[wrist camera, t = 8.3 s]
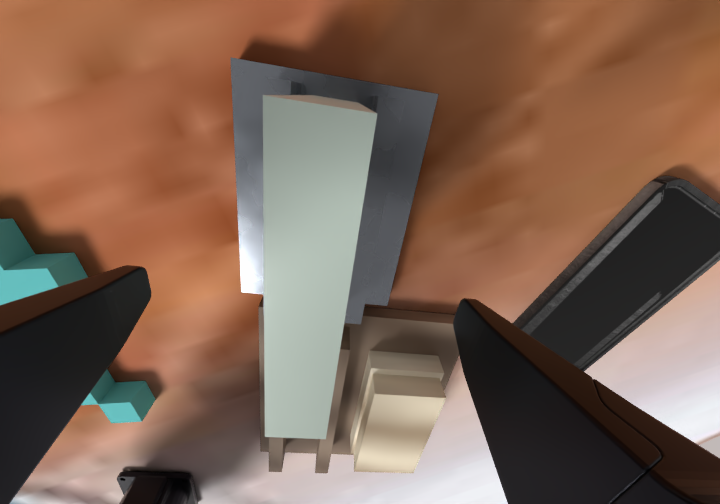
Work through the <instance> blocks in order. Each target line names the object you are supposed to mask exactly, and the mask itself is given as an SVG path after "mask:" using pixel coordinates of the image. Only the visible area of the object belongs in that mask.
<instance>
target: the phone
mask: <svg viewBox="0 0 720 504" xmlns="http://www.w3.org/2000/svg"><path fill="white" fill-rule="evenodd" d="M719 260H720V204H718V203H717V202H715V201H714V200H713V199H711V198H710V197H709V196H707V195H706V194H705V193H703V192H702V191H701V190H699V189H698V188H697V187H695V186H694V185H692V184H691V183H690V182H688V181H686V180H683V179H680V178H676V177H672V176H662V177H659V178H656V179H654V180H652V181H651V182H649V183H648V184H647V185H646V186H645V187H644V188H643V189H642V190H641V191H640V192H639V193H638V194H637V195H636V196H635V197H634V198H633V199H632V200H631V201H630V202H629V203H628V204H627V205H626V206H625V207H624V208H623V209H622V210H621V211H620V212H619V214H618V215H617V216H616V217H615V218H614V219H613V220H612V221H611V222H610V223H609V224H608V225H607V226H606V227H605V228H604V229H603V230H602V231H601V232H600V233H599V234H598V235H597V236H596V237H595V238H594V240H593V241H592V242H591V243H590V244H589V245H588V246H587V247H586V248H585V249H584V250H583V251H582V252H581V253H580V254H579V255H578V256H577V257H576V258H575V259H574V260H573V261H572V262H571V263H570V264H569V265H568V267H567V268H566V269H565V270H564V271H563V272H562V273H561V274H560V275H559V276H558V277H557V278H556V279H555V280H554V281H553V282H552V283H551V284H550V285H549V286H548V287H547V288H546V289H545V290H544V291H543V293H542V294H541V295H540V296H539V297H538V298H537V299H536V300H535V301H534V302H533V303H532V304H531V305H530V306H529V307H528V308H527V309H526V310H525V311H524V312H523V313H522V314H521V315H520V316H519V317H518V318H517V320H516V321H515V322H514V323H513V325H515V326H516V327H518V328H519V329H521V330H522V331H524V332H525V333H527V334H528V335H530V336H531V337H533V338H534V339H536V340H537V341H539V342H540V343H542V344H543V345H545V346H546V347H548V348H549V349H551V350H552V351H554V352H555V353H557V354H558V355H560V356H561V357H562V358H564V359H565V360H567V361H568V362H570V363H571V364H573V365H574V366H576V367H577V368H579V369H580V370H582V371H583V372H584V371H585V370H586V369H587V368H589V367H590V366H591V365H592V364H594V363H595V362H596V361H597V360H598V359H600V358H601V357H602V356H603V355H605V354H606V353H607V352H608V351H609V350H611V349H612V348H613V347H614V346H616V345H617V344H618V343H619V342H620V341H622V340H623V339H624V338H625V337H626V336H628V335H629V334H630V333H631V332H633V331H634V330H635V329H636V328H638V327H639V326H640V325H641V324H642V323H644V322H645V321H646V320H647V319H649V318H650V317H651V316H652V315H653V314H655V313H656V312H657V311H658V310H660V309H661V308H662V307H663V306H664V305H666V304H667V303H668V302H669V301H671V300H672V299H673V298H674V297H675V296H677V295H678V294H679V293H680V292H682V291H683V290H684V289H685V288H686V287H688V286H689V285H690V284H691V283H693V282H694V281H695V280H696V279H697V278H699V277H700V276H701V275H702V274H704V273H705V272H706V271H707V270H708V269H710V268H711V267H712V266H713V265H715V264H716V263H717V262H718V261H719Z"/></svg>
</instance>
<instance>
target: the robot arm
mask: <svg viewBox="0 0 720 504" xmlns="http://www.w3.org/2000/svg"><path fill="white" fill-rule="evenodd" d="M150 298H151V288H150V284H149V279H148V275H147V271H146V269H145V268H143V267H140V266H130V265H127V266H122V267H119V268H116V269H113V270H110V271H107V272H104V273H100V274H97V275H94V276H91V277H88V278H85V279H81V280H78V281H75V282H72V283H69V284H66V285H63V286H59V287H56V288H53V289H50V290H47V291H44V292H40V293H37V294H34V295H31V296H28V297H25V298H22V299H18V300H15V301H12V302H9V303H6V304H3V305H0V504H10V502H11V501H12V499H13V498H14V497H15V495H16V494H17V493H18V491H19V490H20V488H21V487H22V486H23V484H24V483H25V482H26V480H27V479H28V477H29V476H30V475H31V473H32V472H33V471H34V469H35V468H36V466H37V465H38V464H39V462H40V461H41V459H42V458H43V457H44V455H45V454H46V453H47V451H48V450H49V448H50V447H51V446H52V444H53V443H54V442H55V440H56V439H57V437H58V436H59V435H60V433H61V432H62V431H63V429H64V428H65V426H66V425H67V424H68V422H69V421H70V420H71V418H72V417H73V415H74V414H75V413H76V411H77V410H78V408H79V407H80V406H81V404H82V403H83V402H84V400H85V399H86V397H87V396H88V395H89V393H90V392H91V391H92V389H93V388H94V386H95V385H96V384H97V382H98V381H99V380H100V378H101V377H102V375H103V374H104V373H105V371H106V370H107V369H108V367H109V366H110V364H111V363H112V362H113V360H114V359H115V358H116V356H117V355H118V353H119V352H120V350H121V349H122V347H123V346H124V344H125V342H126V341H127V339H128V337H129V336H130V334H131V332H132V330H133V329H134V327H135V325H136V323H137V322H138V320H139V318H140V316H141V315H142V313H143V311H144V309H145V308H146V306H147V304H148V302H149V301H150ZM453 328H454V332H455V337H456V341H457V346H458V350H459V355H460V359H461V364H462V368H463V372H464V375H465V378H466V381H467V384H468V387H469V390H470V393H471V396H472V399H473V402H474V405H475V408H476V411H477V414H478V417H479V420H480V423H481V426H482V429H483V432H484V434H485V437H486V440H487V443H488V446H489V449H490V452H491V455H492V458H493V461H494V464H495V467H496V470H497V473H498V476H499V479H500V482H501V484H502V487H503V490H504V493H505V496H506V499H507V502H508V504H720V458H718V457H717V456H715V455H714V454H712V453H710V452H709V451H707V450H705V449H704V448H702V447H700V446H699V445H697V444H696V443H694V442H692V441H691V440H689V439H687V438H686V437H684V436H683V435H681V434H679V433H678V432H676V431H674V430H673V429H671V428H670V427H668V426H666V425H665V424H663V423H662V422H660V421H658V420H657V419H655V418H654V417H652V416H650V415H649V414H647V413H646V412H644V411H642V410H641V409H639V408H638V407H636V406H634V405H633V404H631V403H630V402H628V401H627V400H625V399H624V398H622V397H621V396H619V395H618V394H616V393H615V392H613V391H612V390H610V389H609V388H607V387H606V386H604V385H603V384H601V383H600V382H598V381H597V380H595V379H592V377H591V376H589V375H588V374H586V373H585V372H583V371H582V370H580V369H579V368H577V367H576V366H574V365H573V364H571V363H570V362H568V361H567V360H565V359H564V358H562V357H561V356H560V355H558V354H557V353H555V352H554V351H552V350H551V349H549V348H548V347H546V346H545V345H543V344H542V343H540V342H539V341H537V340H536V339H534V338H533V337H531V336H530V335H528V334H527V333H525V332H524V331H522V330H521V329H519V328H518V327H516V326H515V325H513V324H512V323H510V322H509V321H508V320H506V319H505V318H503V317H502V316H500V315H499V314H497V313H496V312H494V311H493V310H491V309H490V308H488V307H487V306H485V305H484V304H482V303H481V302H479V301H478V300H475V299H466V298H464V299H462V300H461V302H460V304H459V306H458V309H457V312H456V314H455V317H454V320H453ZM117 481H118V483H119V485H120V487H121V489H122V492H123V494H124V496H123V498H122V500H121V502H120V504H198V502H197V497H196V493H195V488H194V483H193V479H192V476H191V475H190V474H187V473H152V472H121V473H120V474H119V475H118V477H117Z"/></svg>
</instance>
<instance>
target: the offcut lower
mask: <svg viewBox="0 0 720 504" xmlns="http://www.w3.org/2000/svg"><path fill="white" fill-rule="evenodd" d="M373 374H386V375H401V376H416V377H431V378H440V381H441V380H442V378H443V375H444V371H443V368H442V365H441V362H440V360H439V357H438V356H435V355H422V354H409V353H395V352H382V351H369V354H368V359H367V363H366V368H365V372H364V376H363V381H362V385H361V390H360V394H359V398H358V403H357V407H356V412H355V416H354V421H353V425H352V429H351V434H350V451H351V454H354V448H355V444H356V440H357V436H358V431H359V427H360V423H361V419H362V415H363V411H364V407H365V403H366V399H367V395H368V391H369V387H370V383H371V379H372V375H373Z"/></svg>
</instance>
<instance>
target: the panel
mask: <svg viewBox="0 0 720 504" xmlns="http://www.w3.org/2000/svg"><path fill="white" fill-rule="evenodd" d="M376 120H377V113H375V112H374V111H372V110H370V109H368V108H367V107H365V106H363V105H362V104H360V103H358V102H352V101H346V100H340V99H334V98H328V97H322V96H316V95H263V218H264V384H265V437H280V438H305V439H326V435H327V429H328V422H329V416H330V410H331V403H332V397H333V391H334V385H335V378H336V372H337V366H338V359H339V353H340V347H341V340H342V334H343V328H344V321H345V315H346V309H347V303H348V296H349V290H350V284H351V277H352V271H353V265H354V258H355V252H356V246H357V240H358V233H359V227H360V221H361V214H362V208H363V202H364V195H365V189H366V183H367V177H368V170H369V164H370V158H371V151H372V145H373V139H374V132H375V126H376Z"/></svg>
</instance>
